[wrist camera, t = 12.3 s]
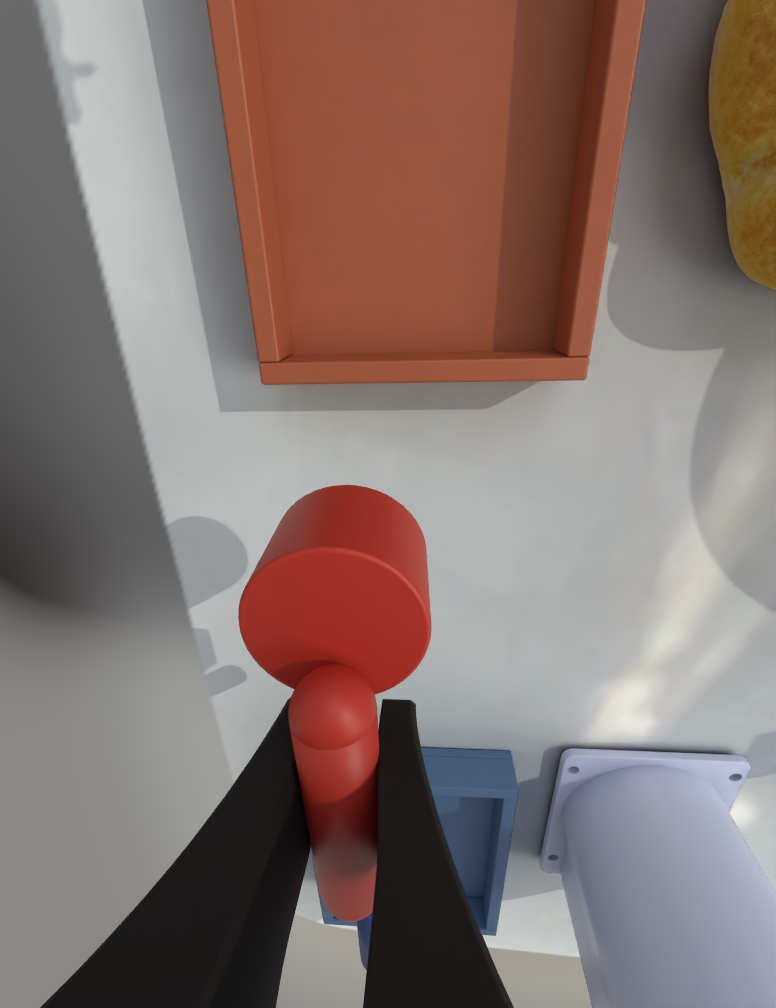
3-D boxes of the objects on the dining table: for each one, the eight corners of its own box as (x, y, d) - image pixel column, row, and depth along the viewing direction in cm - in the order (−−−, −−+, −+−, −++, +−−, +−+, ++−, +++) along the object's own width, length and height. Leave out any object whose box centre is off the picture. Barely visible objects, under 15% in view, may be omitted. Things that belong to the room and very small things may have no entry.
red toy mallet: (424, 759, 13) (431, 939, 10) (309, 757, 13) (272, 932, 10) (427, 482, 9) (438, 607, 6) (265, 484, 10) (178, 606, 6)
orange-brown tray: (566, 368, 14) (587, 380, 12) (280, 373, 14) (261, 385, 13) (666, -354, 8) (730, -519, 7) (195, -298, 9) (142, -434, 7)
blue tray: (491, 894, 27) (496, 936, 25) (329, 884, 27) (323, 924, 26) (511, 750, 21) (518, 791, 20) (308, 742, 22) (298, 780, 20)
